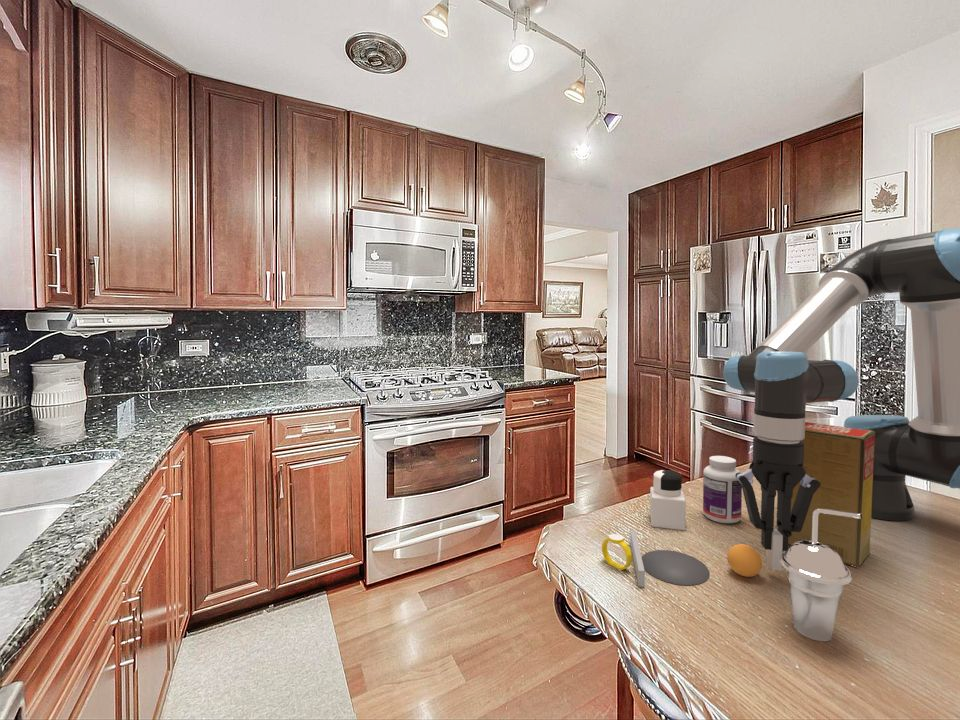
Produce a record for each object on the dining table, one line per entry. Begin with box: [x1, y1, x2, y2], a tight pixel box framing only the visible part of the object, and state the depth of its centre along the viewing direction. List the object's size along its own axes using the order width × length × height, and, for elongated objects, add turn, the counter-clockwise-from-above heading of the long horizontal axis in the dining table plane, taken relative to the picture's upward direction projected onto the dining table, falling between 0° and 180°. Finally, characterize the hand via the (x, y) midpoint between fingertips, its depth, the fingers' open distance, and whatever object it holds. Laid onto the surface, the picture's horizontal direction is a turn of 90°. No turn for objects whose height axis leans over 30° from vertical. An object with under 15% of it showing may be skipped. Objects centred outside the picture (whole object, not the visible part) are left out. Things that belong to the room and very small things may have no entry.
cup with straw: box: [780, 508, 862, 642], centre depth 64 cm, size 8×9×20 cm
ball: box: [726, 543, 763, 578], centre depth 80 cm, size 6×6×6 cm
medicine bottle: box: [649, 469, 687, 531], centre depth 101 cm, size 7×7×12 cm
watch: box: [601, 533, 633, 571], centre depth 84 cm, size 6×3×6 cm, turn 37°
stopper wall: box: [629, 528, 646, 588], centre depth 85 cm, size 1×16×3 cm, turn 166°
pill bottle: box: [702, 455, 743, 524], centre depth 103 cm, size 8×8×14 cm
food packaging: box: [788, 421, 875, 568], centre depth 88 cm, size 13×9×25 cm
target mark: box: [641, 549, 710, 587], centre depth 83 cm, size 12×12×1 cm
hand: (773, 566), depth 79 cm, fingers closed
